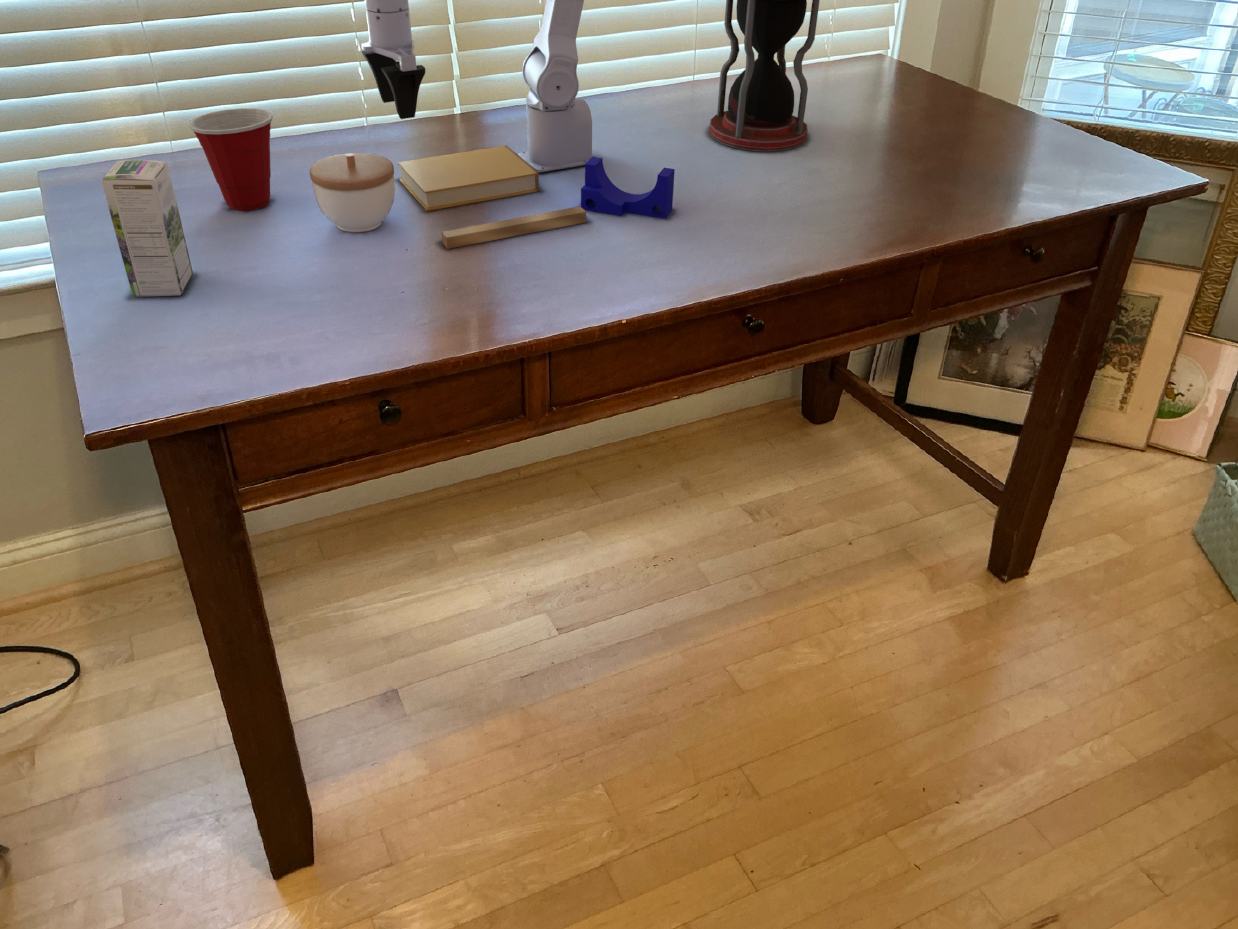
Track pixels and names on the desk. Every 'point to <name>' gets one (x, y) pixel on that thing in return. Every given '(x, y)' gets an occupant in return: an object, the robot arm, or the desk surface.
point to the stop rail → (513, 227)
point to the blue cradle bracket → (625, 193)
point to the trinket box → (354, 189)
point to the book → (468, 177)
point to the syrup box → (148, 227)
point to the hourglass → (764, 77)
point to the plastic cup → (238, 154)
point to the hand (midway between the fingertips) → (398, 109)
